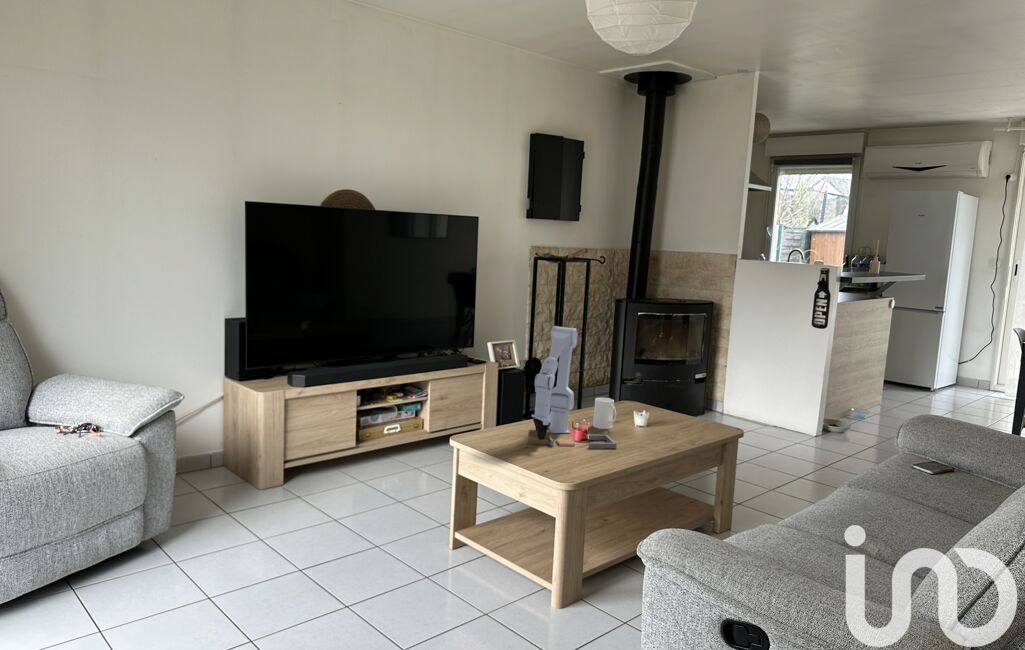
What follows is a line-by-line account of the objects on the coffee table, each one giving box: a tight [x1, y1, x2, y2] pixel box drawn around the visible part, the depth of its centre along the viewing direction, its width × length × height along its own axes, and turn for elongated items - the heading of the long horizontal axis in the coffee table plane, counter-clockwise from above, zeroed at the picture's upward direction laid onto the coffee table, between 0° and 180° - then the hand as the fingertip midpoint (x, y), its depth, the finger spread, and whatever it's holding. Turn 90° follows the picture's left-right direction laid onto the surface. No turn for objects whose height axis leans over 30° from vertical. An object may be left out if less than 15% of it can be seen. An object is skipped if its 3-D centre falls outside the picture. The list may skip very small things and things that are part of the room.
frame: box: [588, 434, 618, 449], centre depth 283 cm, size 12×11×2 cm
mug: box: [592, 397, 617, 430], centre depth 308 cm, size 12×8×12 cm
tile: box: [555, 438, 575, 447], centre depth 280 cm, size 6×6×2 cm
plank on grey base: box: [527, 429, 554, 448], centre depth 278 cm, size 8×9×5 cm
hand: (540, 438), depth 278 cm, fingers closed on plank on grey base, 2 cm apart
